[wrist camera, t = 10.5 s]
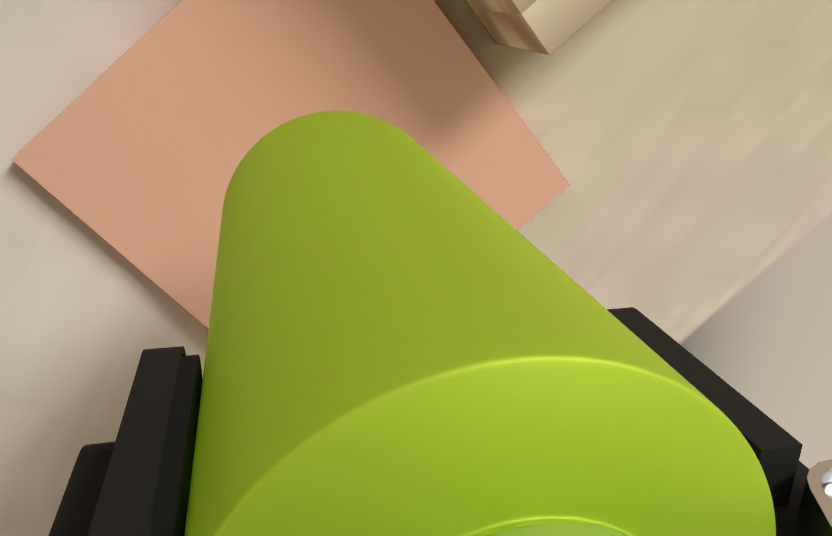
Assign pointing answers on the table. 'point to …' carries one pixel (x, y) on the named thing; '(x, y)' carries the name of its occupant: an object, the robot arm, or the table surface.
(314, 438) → the soap dispenser
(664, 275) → the table surface
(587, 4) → the open box
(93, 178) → the plate
